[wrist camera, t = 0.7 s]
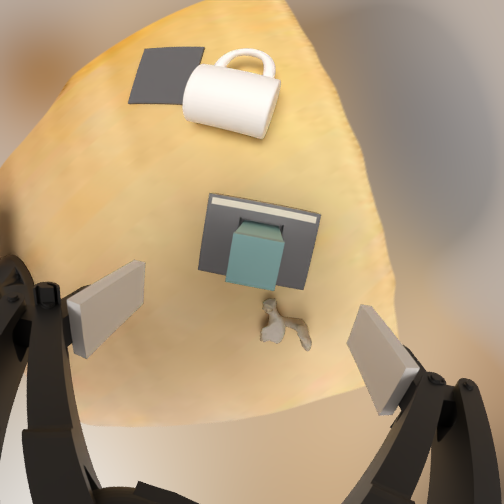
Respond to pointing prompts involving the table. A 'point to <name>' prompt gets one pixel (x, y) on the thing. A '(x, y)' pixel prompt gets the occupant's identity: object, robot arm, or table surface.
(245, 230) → the plug
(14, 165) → the table surface
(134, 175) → the table surface
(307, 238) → the grey socket block
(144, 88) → the mat
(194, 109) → the mug
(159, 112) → the table surface
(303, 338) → the bone
